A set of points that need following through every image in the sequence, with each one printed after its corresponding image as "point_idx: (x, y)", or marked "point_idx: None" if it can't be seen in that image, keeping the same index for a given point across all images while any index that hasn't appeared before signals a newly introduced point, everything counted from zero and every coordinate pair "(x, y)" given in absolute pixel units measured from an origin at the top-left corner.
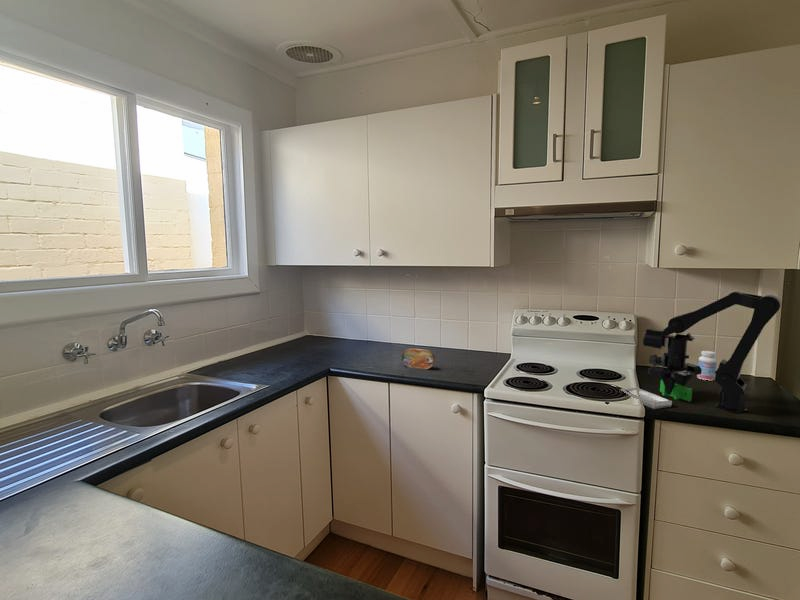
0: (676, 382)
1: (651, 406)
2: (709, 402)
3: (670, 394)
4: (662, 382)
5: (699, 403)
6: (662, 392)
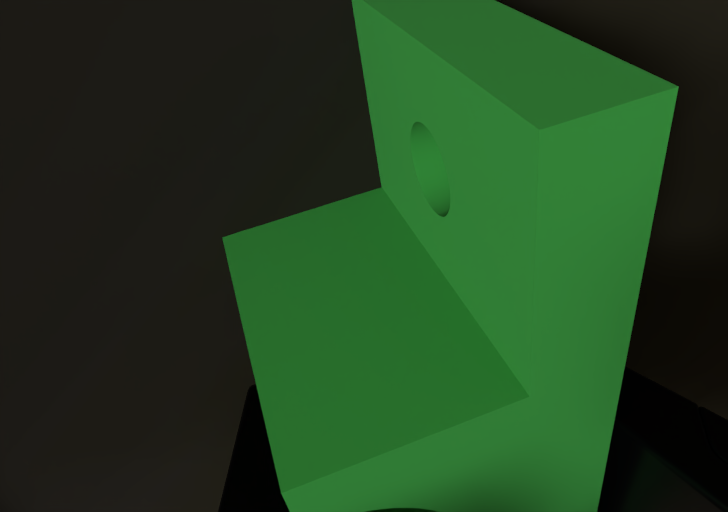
0: (652, 479)
1: None
2: None
3: None
4: (492, 175)
5: None
6: (231, 277)
